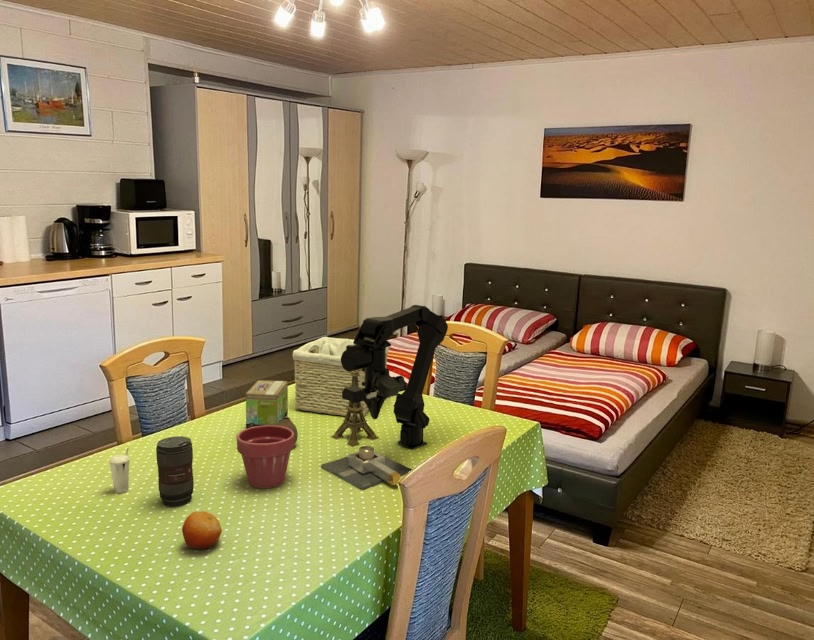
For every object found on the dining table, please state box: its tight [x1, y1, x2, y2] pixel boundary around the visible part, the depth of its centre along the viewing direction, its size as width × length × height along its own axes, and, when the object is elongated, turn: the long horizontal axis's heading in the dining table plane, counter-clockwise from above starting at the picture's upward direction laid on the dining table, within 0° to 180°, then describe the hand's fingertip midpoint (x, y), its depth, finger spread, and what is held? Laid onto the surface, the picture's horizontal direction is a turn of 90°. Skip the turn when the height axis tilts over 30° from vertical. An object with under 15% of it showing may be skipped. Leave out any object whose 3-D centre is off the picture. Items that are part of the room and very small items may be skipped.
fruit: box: [181, 510, 223, 551], centre depth 136 cm, size 8×8×8 cm
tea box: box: [245, 380, 289, 429], centre depth 201 cm, size 15×10×15 cm
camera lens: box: [155, 435, 195, 508], centre depth 155 cm, size 8×8×15 cm
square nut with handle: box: [347, 450, 401, 486], centre depth 171 cm, size 17×7×3 cm, turn 37°
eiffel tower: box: [330, 370, 380, 448], centre depth 196 cm, size 11×11×25 cm
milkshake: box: [109, 447, 130, 494], centre depth 160 cm, size 5×5×10 cm
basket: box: [292, 336, 390, 418], centre depth 228 cm, size 27×27×22 cm
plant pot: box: [236, 425, 295, 489], centre depth 167 cm, size 14×14×13 cm
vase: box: [277, 416, 299, 446], centre depth 190 cm, size 7×7×9 cm
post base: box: [320, 445, 413, 491], centre depth 175 cm, size 17×18×6 cm
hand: (374, 419), depth 180 cm, fingers closed
